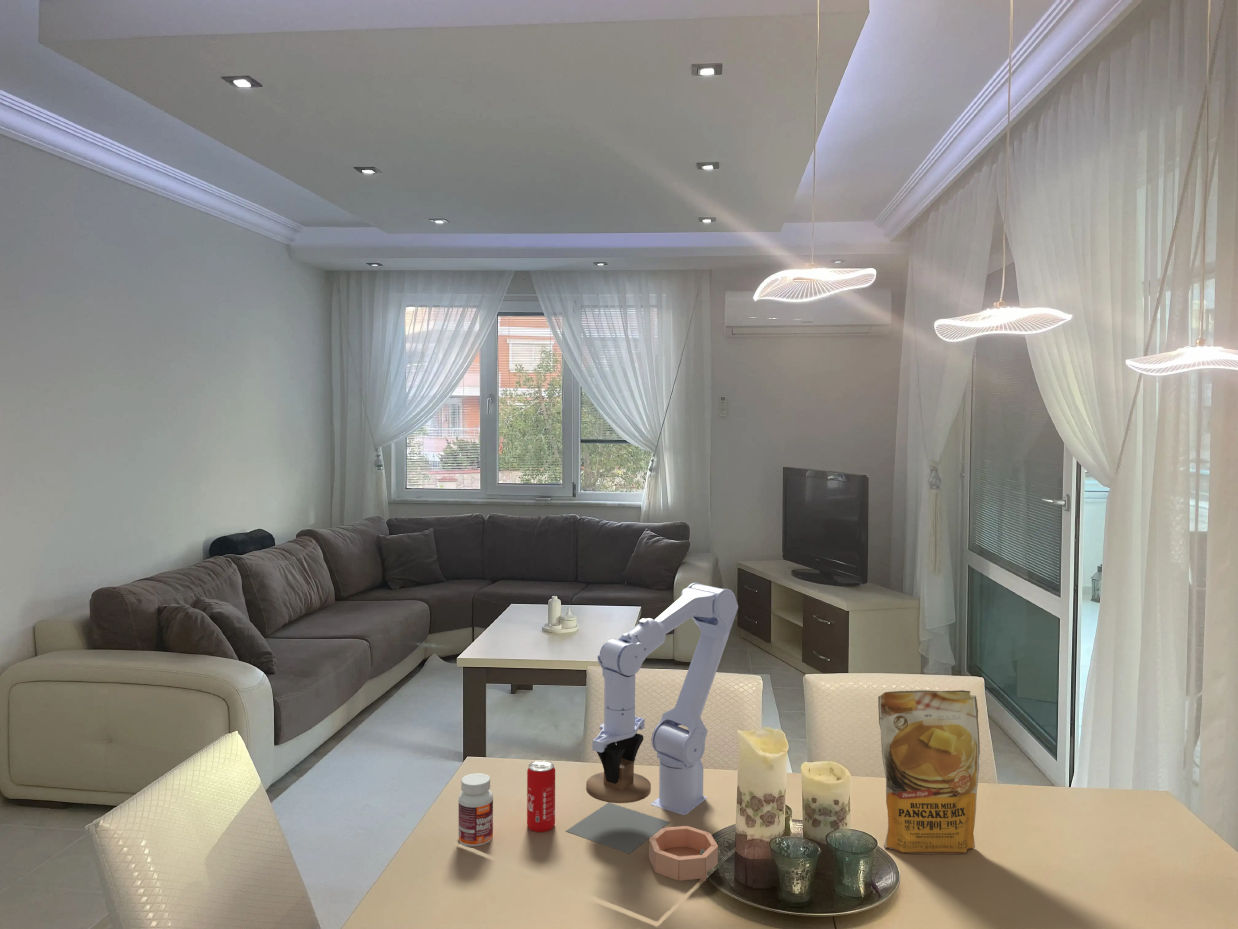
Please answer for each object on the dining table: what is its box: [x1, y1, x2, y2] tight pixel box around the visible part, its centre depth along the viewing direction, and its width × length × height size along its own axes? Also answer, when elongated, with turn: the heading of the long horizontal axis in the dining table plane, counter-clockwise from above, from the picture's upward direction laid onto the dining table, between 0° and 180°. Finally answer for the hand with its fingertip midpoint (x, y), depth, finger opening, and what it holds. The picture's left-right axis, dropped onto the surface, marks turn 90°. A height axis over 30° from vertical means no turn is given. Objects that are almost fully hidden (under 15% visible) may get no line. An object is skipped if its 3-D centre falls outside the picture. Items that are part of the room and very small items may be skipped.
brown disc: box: [585, 759, 652, 804], centre depth 153 cm, size 12×12×5 cm
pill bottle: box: [458, 772, 494, 849], centre depth 149 cm, size 6×6×11 cm
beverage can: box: [526, 760, 556, 833], centre depth 153 cm, size 5×5×12 cm
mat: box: [565, 802, 671, 855], centre depth 154 cm, size 14×14×1 cm
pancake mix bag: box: [877, 689, 981, 855], centre depth 148 cm, size 7×19×28 cm, turn 91°
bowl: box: [648, 825, 719, 883], centre depth 141 cm, size 11×11×4 cm
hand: (618, 777), depth 153 cm, fingers closed on brown disc, 4 cm apart
